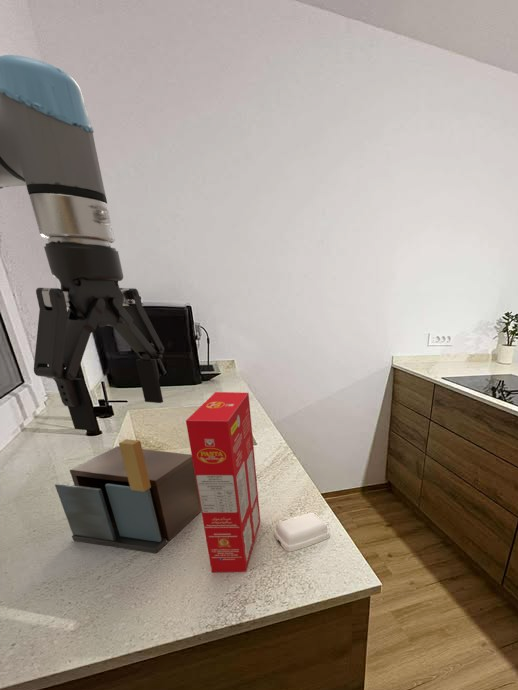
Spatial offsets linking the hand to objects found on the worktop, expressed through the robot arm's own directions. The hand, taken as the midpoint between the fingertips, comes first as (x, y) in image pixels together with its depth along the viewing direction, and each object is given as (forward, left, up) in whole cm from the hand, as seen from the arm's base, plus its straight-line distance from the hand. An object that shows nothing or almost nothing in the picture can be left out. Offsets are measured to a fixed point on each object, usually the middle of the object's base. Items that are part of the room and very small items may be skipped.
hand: (124, 414), depth 56 cm
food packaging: (+13, +3, -24) cm, 27 cm away
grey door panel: (-3, 0, -22) cm, 22 cm away
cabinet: (-7, +5, -23) cm, 25 cm away
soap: (+23, +9, -24) cm, 34 cm away
